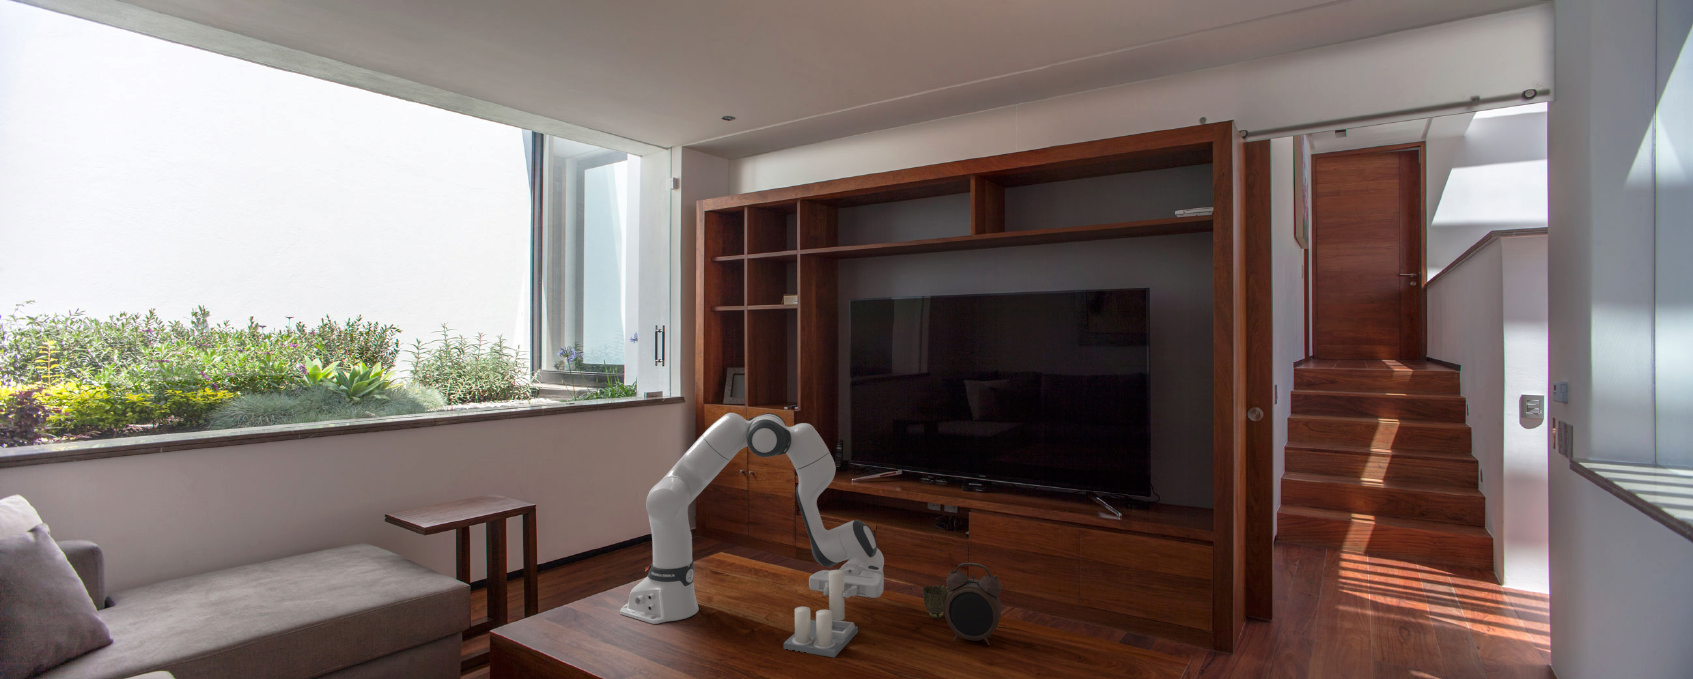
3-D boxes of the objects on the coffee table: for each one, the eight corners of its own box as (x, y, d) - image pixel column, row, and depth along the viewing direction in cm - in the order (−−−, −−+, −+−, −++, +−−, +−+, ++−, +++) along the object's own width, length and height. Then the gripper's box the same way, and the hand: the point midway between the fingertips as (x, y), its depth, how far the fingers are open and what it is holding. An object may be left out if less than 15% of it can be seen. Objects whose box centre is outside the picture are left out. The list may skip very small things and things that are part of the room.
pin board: (783, 649, 184) (783, 611, 184) (810, 625, 199) (809, 590, 199) (834, 657, 179) (833, 619, 179) (857, 632, 194) (857, 596, 194)
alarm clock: (942, 643, 186) (941, 565, 186) (948, 632, 193) (947, 557, 193) (1000, 650, 182) (999, 571, 181) (1003, 639, 188) (1002, 562, 188)
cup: (948, 623, 199) (948, 594, 199) (921, 621, 200) (921, 592, 200) (950, 612, 206) (949, 584, 206) (924, 611, 208) (923, 583, 208)
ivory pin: (827, 619, 190) (826, 574, 189) (833, 614, 193) (832, 569, 193) (841, 621, 188) (840, 575, 188) (847, 616, 192) (846, 570, 192)
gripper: (820, 561, 206) (799, 577, 194) (888, 569, 199) (871, 586, 186) (820, 584, 207) (799, 601, 194) (888, 592, 199) (871, 610, 186)
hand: (835, 593), depth 190 cm, fingers closed on ivory pin, 4 cm apart
